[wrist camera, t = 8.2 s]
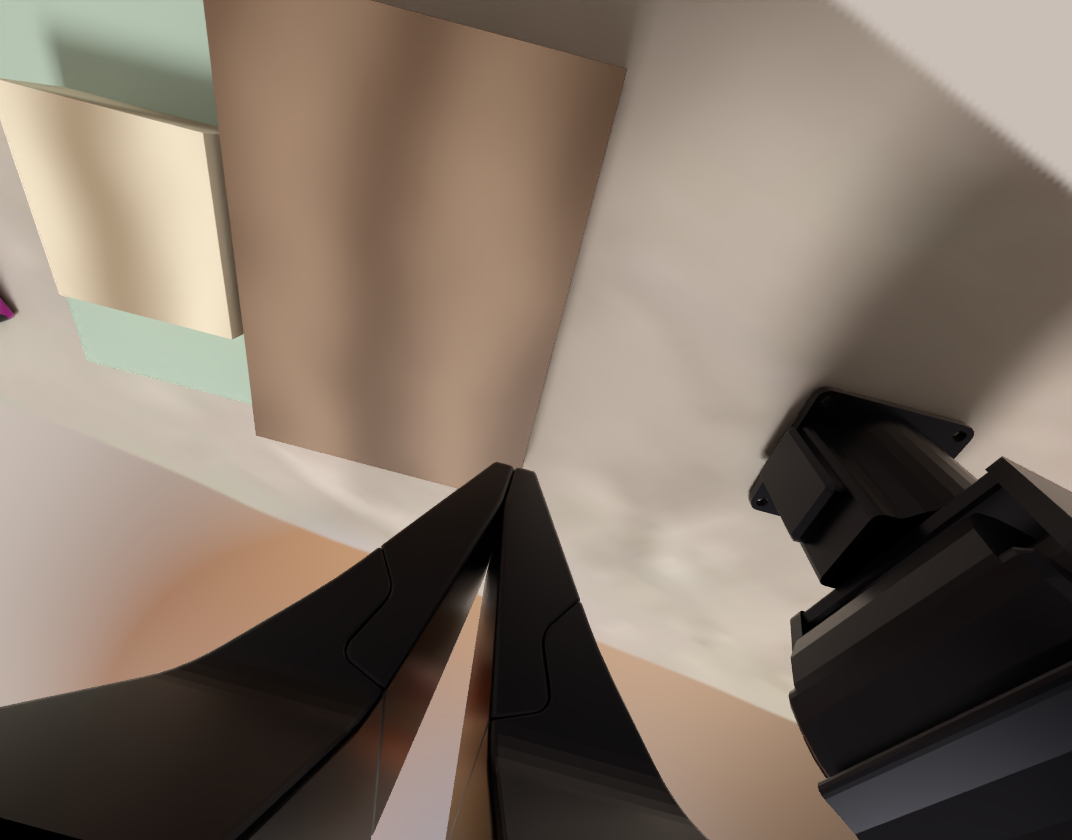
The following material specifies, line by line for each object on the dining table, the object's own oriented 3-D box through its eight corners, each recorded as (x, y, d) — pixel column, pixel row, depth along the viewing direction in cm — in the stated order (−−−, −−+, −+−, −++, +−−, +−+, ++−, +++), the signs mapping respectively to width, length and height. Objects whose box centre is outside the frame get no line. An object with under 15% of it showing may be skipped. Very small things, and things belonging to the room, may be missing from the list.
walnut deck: (623, 82, 14) (627, 69, 12) (520, 470, 22) (512, 503, 20) (258, -16, 14) (197, -47, 12) (289, 409, 22) (255, 435, 20)
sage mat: (258, -16, 14) (250, -20, 14) (289, 409, 22) (284, 412, 22) (-49, -98, 14) (-65, -104, 14) (95, 357, 22) (87, 361, 22)
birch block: (254, 136, 16) (202, 133, 14) (271, 320, 20) (232, 339, 18) (64, 86, 16) (-15, 76, 14) (116, 280, 20) (59, 294, 18)
